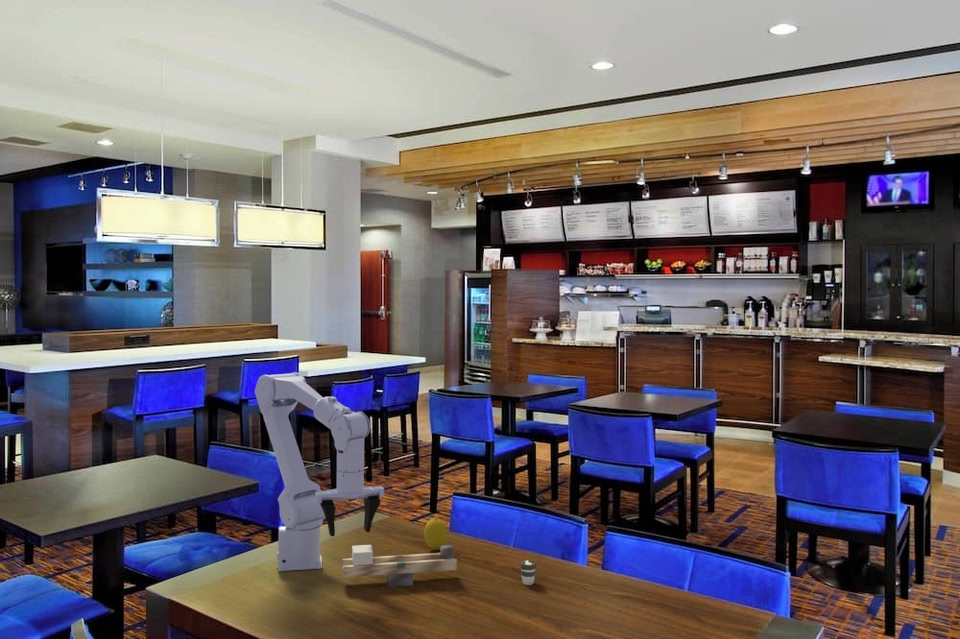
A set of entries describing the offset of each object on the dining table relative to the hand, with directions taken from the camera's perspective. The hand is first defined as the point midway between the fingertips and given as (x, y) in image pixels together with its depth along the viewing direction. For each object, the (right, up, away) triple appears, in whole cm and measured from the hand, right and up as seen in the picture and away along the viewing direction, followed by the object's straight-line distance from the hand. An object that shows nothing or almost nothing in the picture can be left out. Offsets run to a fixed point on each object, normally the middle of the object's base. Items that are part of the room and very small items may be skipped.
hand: (349, 532), depth 159 cm
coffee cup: (+38, -12, +1) cm, 40 cm away
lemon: (+17, -10, +21) cm, 29 cm away
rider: (+3, -7, -1) cm, 7 cm away
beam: (+11, -11, +1) cm, 15 cm away
